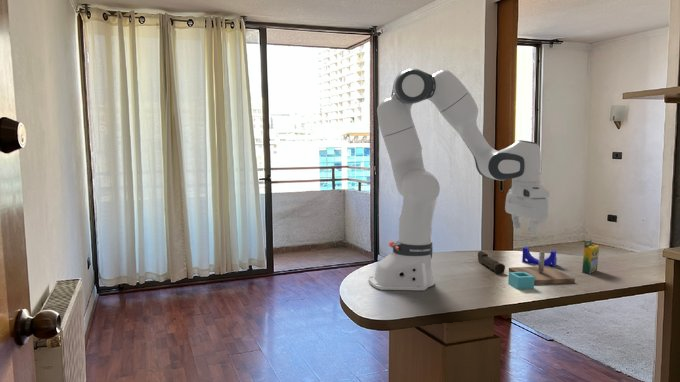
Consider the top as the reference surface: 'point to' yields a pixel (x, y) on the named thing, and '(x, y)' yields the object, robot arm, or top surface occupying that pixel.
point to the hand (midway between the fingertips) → (524, 230)
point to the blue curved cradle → (530, 259)
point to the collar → (521, 280)
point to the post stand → (544, 273)
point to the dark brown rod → (490, 263)
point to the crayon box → (590, 257)
